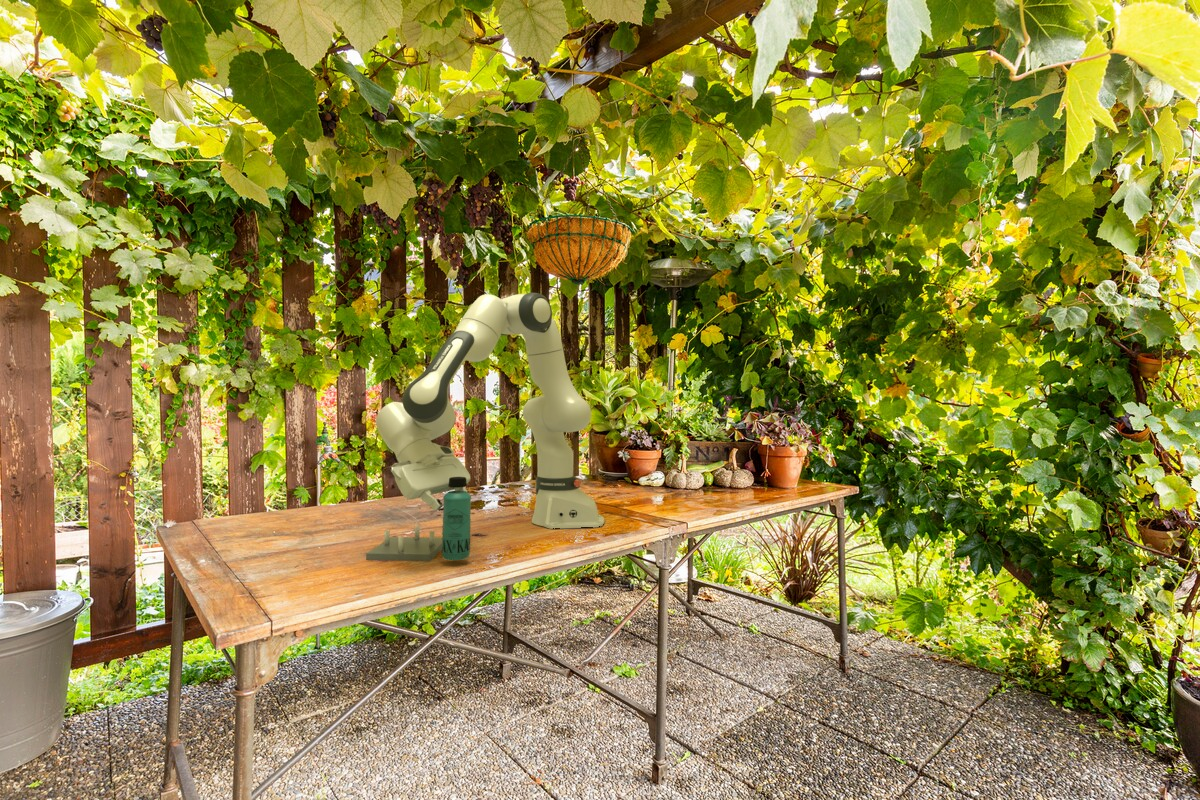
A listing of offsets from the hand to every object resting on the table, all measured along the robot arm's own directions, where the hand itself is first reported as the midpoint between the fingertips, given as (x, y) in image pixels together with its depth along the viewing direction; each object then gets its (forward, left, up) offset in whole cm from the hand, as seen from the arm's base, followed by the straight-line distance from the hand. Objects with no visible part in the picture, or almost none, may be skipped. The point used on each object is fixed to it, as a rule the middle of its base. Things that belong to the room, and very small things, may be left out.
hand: (452, 504), depth 128 cm
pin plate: (+13, -9, -14) cm, 21 cm away
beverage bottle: (-1, 0, -14) cm, 14 cm away
